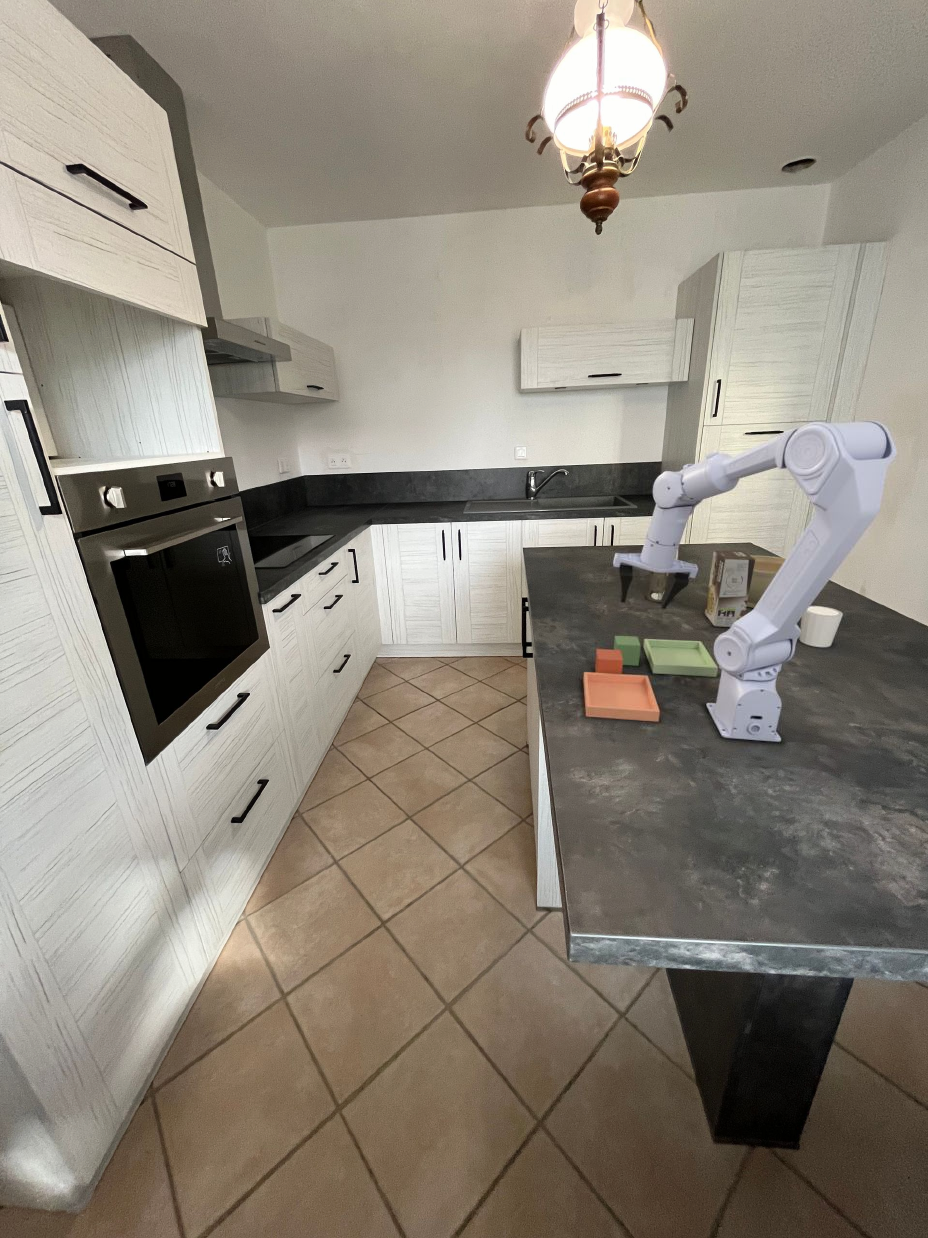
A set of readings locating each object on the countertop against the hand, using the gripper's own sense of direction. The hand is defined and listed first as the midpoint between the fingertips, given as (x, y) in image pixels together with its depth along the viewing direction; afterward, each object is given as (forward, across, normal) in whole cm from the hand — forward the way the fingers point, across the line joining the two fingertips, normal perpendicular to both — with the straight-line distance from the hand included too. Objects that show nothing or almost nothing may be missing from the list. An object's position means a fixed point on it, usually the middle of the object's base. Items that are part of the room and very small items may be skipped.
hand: (642, 602), depth 94 cm
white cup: (+10, -39, -11) cm, 42 cm away
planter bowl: (+15, -36, -34) cm, 52 cm away
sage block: (+12, +1, +4) cm, 12 cm away
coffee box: (+14, -24, -21) cm, 35 cm away
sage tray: (+10, -9, +3) cm, 14 cm away
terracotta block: (+10, +5, +11) cm, 16 cm away
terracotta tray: (+8, +4, +20) cm, 22 cm away
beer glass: (+19, -13, -35) cm, 42 cm away
